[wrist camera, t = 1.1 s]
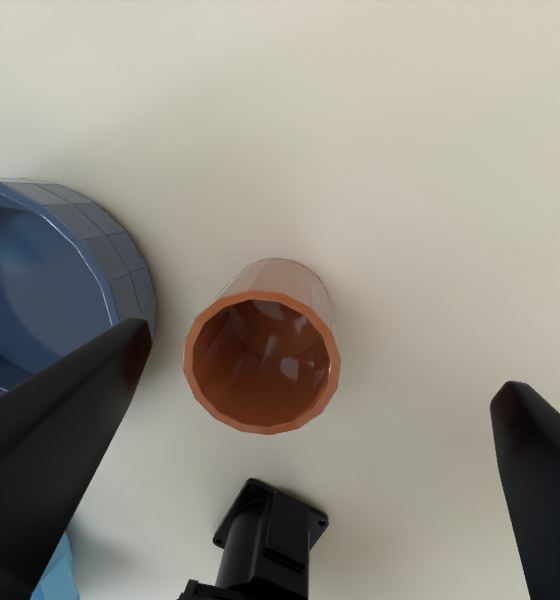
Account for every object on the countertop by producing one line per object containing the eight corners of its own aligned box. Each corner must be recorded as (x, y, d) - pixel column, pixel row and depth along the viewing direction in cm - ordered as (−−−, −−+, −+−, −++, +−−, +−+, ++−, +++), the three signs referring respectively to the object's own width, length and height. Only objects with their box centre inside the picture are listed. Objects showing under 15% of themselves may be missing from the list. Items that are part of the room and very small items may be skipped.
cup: (299, 375, 23) (293, 457, 16) (208, 330, 23) (160, 392, 15) (350, 289, 21) (370, 338, 14) (252, 238, 21) (221, 261, 14)
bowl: (117, 427, 25) (74, 478, 21) (-71, 336, 25) (-159, 369, 20) (194, 250, 21) (161, 265, 17) (-28, 135, 21) (-126, 118, 16)
